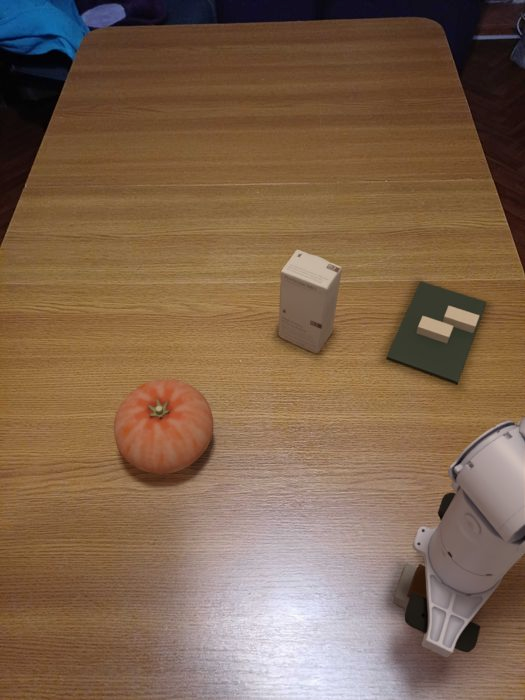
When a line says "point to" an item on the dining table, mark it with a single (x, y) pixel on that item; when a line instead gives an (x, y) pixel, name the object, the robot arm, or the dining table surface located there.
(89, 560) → the dining table surface
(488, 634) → the dining table surface
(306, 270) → the cosmetic box
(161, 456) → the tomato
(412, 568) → the eraser
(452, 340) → the slate
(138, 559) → the dining table surface
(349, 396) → the dining table surface
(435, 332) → the chalk
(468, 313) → the chalk
